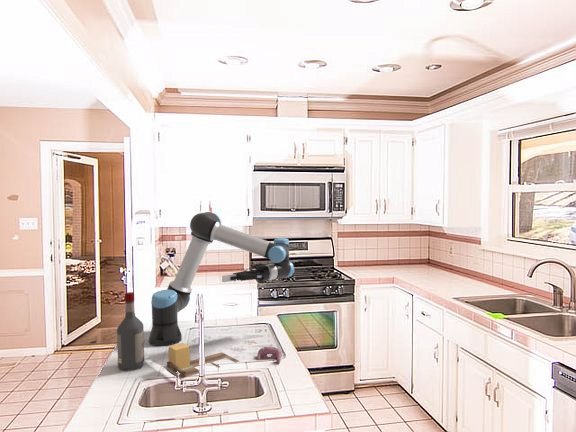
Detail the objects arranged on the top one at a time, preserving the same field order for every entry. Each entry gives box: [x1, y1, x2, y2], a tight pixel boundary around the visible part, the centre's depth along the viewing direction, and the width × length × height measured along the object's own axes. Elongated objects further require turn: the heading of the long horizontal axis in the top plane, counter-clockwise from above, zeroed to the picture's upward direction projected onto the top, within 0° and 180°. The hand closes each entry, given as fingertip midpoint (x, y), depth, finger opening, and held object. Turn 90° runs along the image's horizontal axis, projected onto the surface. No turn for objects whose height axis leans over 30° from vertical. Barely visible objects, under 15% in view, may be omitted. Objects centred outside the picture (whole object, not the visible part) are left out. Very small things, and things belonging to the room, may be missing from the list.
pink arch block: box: [256, 346, 282, 365], centre depth 183 cm, size 10×5×7 cm, turn 85°
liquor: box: [116, 291, 145, 372], centre depth 179 cm, size 9×9×30 cm
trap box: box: [166, 351, 240, 379], centre depth 177 cm, size 14×25×4 cm, turn 130°
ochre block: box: [168, 342, 191, 369], centre depth 175 cm, size 6×6×8 cm
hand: (223, 279), depth 196 cm, fingers closed
